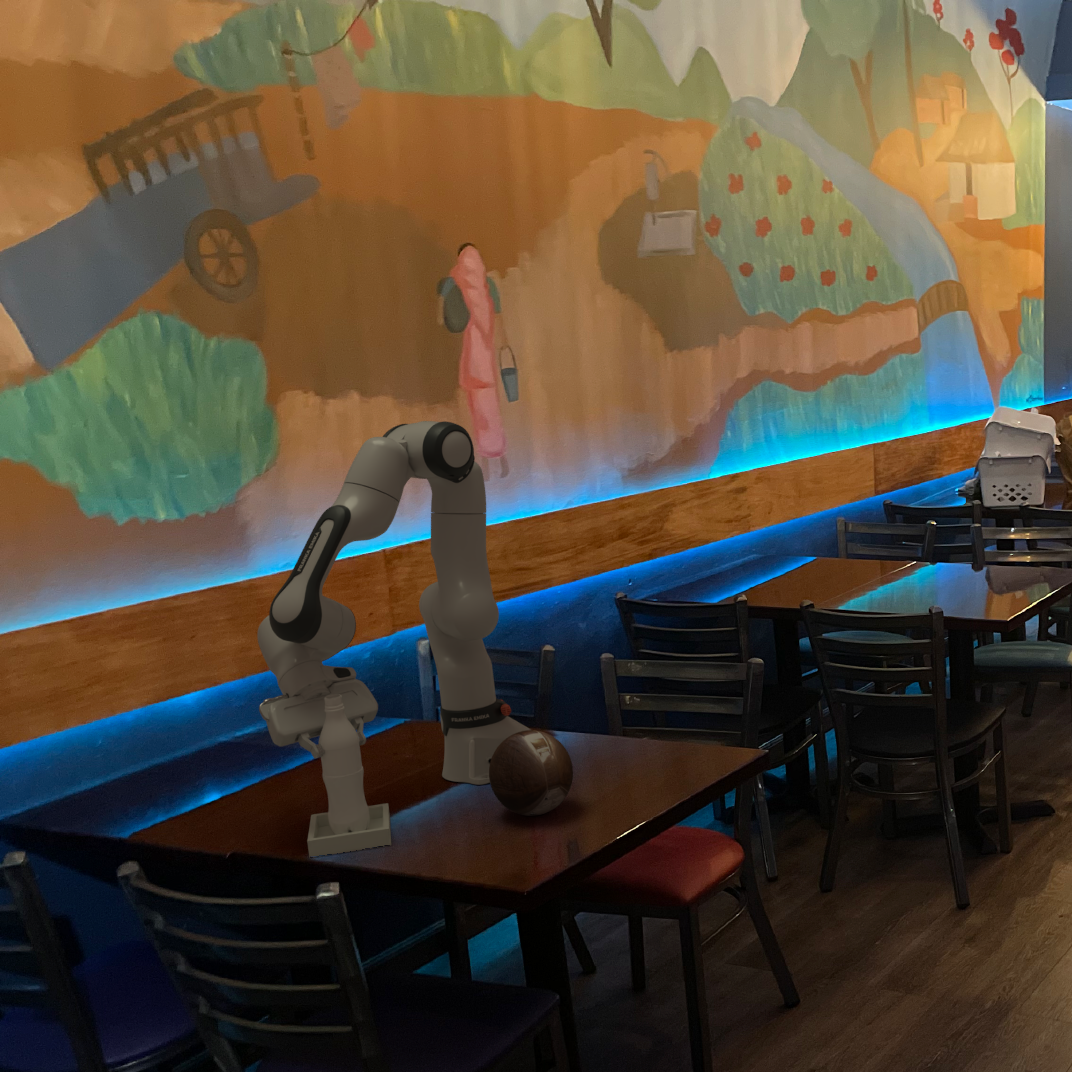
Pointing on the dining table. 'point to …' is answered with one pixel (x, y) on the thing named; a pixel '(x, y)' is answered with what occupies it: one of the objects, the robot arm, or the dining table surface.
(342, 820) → the water bottle
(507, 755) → the wooden sphere
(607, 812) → the dining table surface
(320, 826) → the tray
